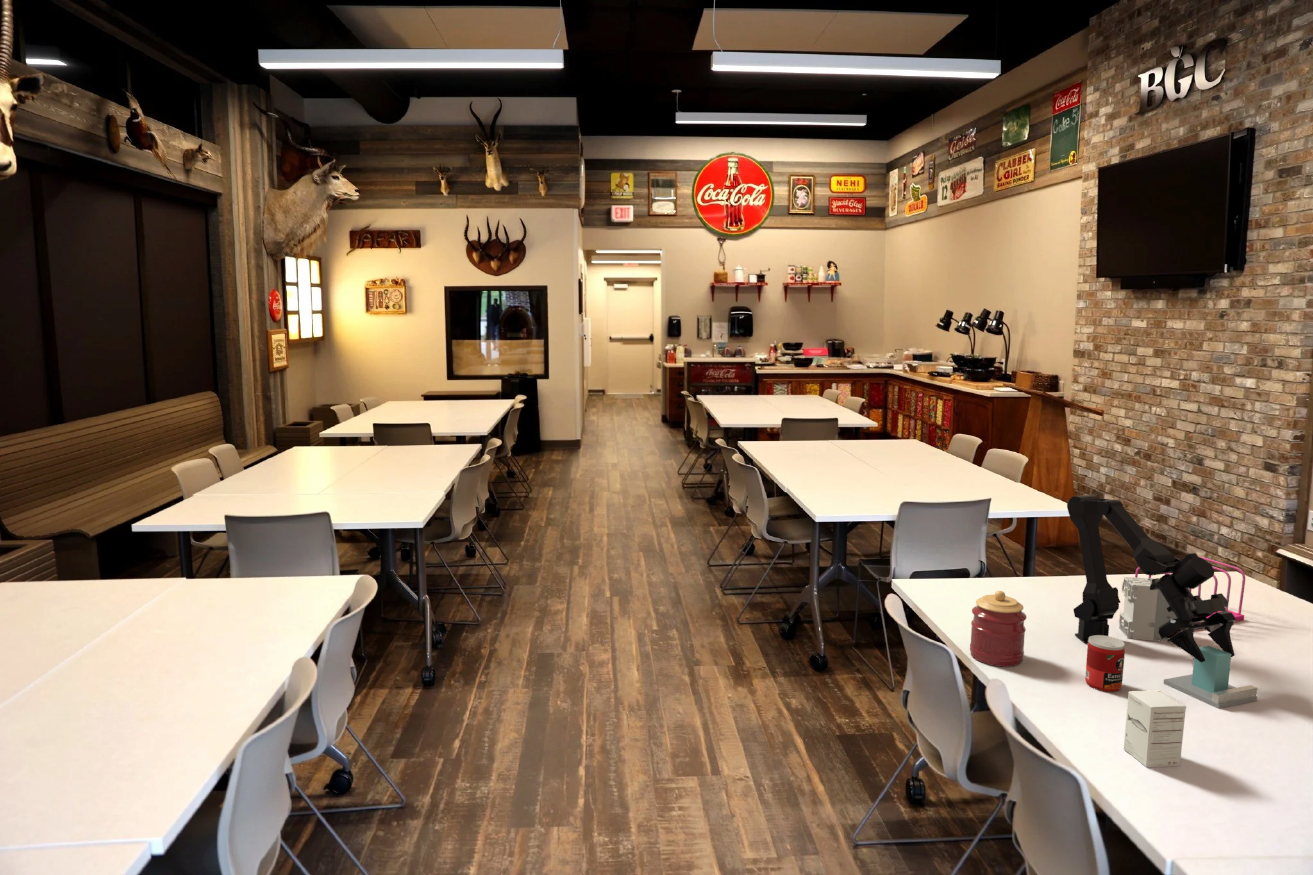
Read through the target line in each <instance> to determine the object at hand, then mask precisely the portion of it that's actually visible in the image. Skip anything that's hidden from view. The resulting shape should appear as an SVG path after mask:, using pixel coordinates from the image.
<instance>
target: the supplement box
mask: <svg viewBox="0 0 1313 875" xmlns="http://www.w3.org/2000/svg"><path fill="white" fill-rule="evenodd" d="M1127 696H1128V698H1127V708H1126V720H1125V729H1124V738H1123V739H1124V740H1123V750H1124V751H1126V752H1127V753H1129V754H1130V755H1131V756H1133V757H1134V758H1135V759H1136V760H1137V761H1138V762H1140V763H1141V764H1142V765H1143V766H1145V768H1162V767H1163V768H1166V767H1180V766H1181V760H1182V759H1181V758H1182V750H1183V749H1182V747H1183V740H1184V729H1185V718H1186V709H1187V706H1186V705H1185V704H1183V703H1181V702H1180V701H1179V700H1176V699H1175V698H1174V697H1172V696H1171V695H1169V694H1168V693H1166V692H1165V691H1163V690H1162V689H1153V690H1147V689H1146V690H1133V691H1132V690H1131V691H1128V695H1127Z"/></svg>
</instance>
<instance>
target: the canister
mask: <svg viewBox="0 0 1313 875" xmlns="http://www.w3.org/2000/svg"><path fill="white" fill-rule="evenodd" d="M975 604H976V605H975V606H974V607H972V609H971V613H972V614H973V619H972V620H971V622H970V623H971V630H970V634H971V635H970V643H969V651H970V656H971V657H972V658H973V659H974V660H976V661H978V662H981V663H983V664H986V665H991V666H994V667H995V666H996V667H1014V666H1015V667H1016V666H1019V665H1020V664H1022V663H1023V660H1024V657H1025V650H1024V648H1025V632H1026V631H1027V629H1026V627H1025V621H1026V620H1027V614H1026V613H1025V612H1024V611H1023V610H1024V605H1023V604H1022V603H1020V602H1019V601H1018V600H1017V599H1015V598H1013V597H1012V596H1011V597H1010V596H1007V595H1006V594H1005V592H1004V591H1002V590H997V591H996V592H995V593H994V594H986V595H984V596H983V595H982V597H979V598H977V599H976V600H975Z"/></svg>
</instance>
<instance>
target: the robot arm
mask: <svg viewBox="0 0 1313 875" xmlns="http://www.w3.org/2000/svg"><path fill="white" fill-rule="evenodd" d="M1066 508H1067V512H1068V516H1069V519H1070V521H1071V522H1072V524H1073V525H1074V526H1075V528H1077V531H1078V535H1079V541H1080V542H1079V543H1080V549H1081V556H1082V560H1083V565H1084V568H1083V569H1084V572H1085V579H1086V581H1085V582H1086V584H1085V586H1084V588H1083V591H1082V602H1081V603H1080V604H1079V605H1077V606H1076V607H1074V608H1073V613H1074V617H1075V618H1076V619H1078V628H1077V629H1078V630H1077V633H1074V636H1075V637H1076V638H1078V639H1079V640H1080V641H1081V642H1083V643H1084V644H1087V645H1088V639H1089V637H1090V636H1094V635H1103V636H1110V635H1109V633H1110V632H1109V631H1110V625H1109V622H1108V621H1109V620H1112V619H1113V618H1114V617H1115V614H1116V613H1117V611H1118V610H1119V608H1120V603H1122V602H1121V600H1120V597H1119V590H1118V587H1116V586H1115V587H1113V586H1112V585H1111V584H1110V583H1109V581H1108V577H1107V572H1106V565H1105V558H1104V554H1103V552H1104V551H1103V548H1102V547H1103V546H1102V540H1101V535H1100V534H1101V533H1100V525H1101V521H1102V519H1103V516H1104V517H1105V518H1106V520H1108V522H1109V523H1110V525H1112V527H1113V528H1114V529H1115V531H1117V532H1118V534H1119V535H1120V537H1121V538H1122V539H1123V540H1124V541H1125V542H1126V543H1127V544H1128V546H1129V548H1131V550H1132V551H1133V558H1134V561H1135V563H1136V564H1137V567H1139V568H1140V569H1139V570H1140V571H1141V572H1142V573H1143V574H1145V575H1146V576H1149V575H1151V577H1152V576H1158V575H1162V576H1161V577H1160V578H1159V577H1156V578H1152V583H1151V585H1150V590H1157V589H1159V590H1160V592H1161V593H1162V595H1163V596H1164V598H1165V600H1166V601H1167V603H1168V605H1169V607H1168V608H1166V609H1167V610H1168V612H1173V613H1174V614H1175V616H1176V617H1177V619H1171V620H1170V621H1168V622H1166V623H1165V624H1163V625H1162V626H1160V627H1159V630H1158V633H1159V635H1160V636H1161V638H1160V639H1161V640H1162V641H1163V640H1164V641H1165V640H1166V641H1167V642H1168V643H1172V644H1173V645H1175V646H1176V647H1178V648H1180V650H1183V651H1184V652H1185V653H1187V654H1189V655H1190V656H1191V657H1193V659H1194V658H1195V659H1197V660H1198V661H1200V662H1204V661H1205V658H1204V656H1203V654H1202V652H1201V650H1200V648H1199V647H1200V646H1199V645H1198V643H1197V642H1196V639H1195V638H1194V634H1195V633H1194V631H1195V630H1198V629H1199V628H1200V629H1204V630H1205V631H1207V632H1209V633H1207V635H1208V637H1210V638H1211V639H1212V641H1213V642H1214V643H1215V644H1216V645H1217V646H1218V647H1219V648H1220V650H1222V651H1225V652H1227V653H1230V654H1231V658H1233V657H1235V651H1234V646H1233V643H1232V638H1231V628H1232V627H1233V626H1234V625H1235V623H1236V622H1235V621H1236V618H1235V617H1234V615H1233V614H1232V613H1231V612H1228V611H1226V609H1225V607H1227V606H1228V607H1229V604H1228V601H1227V600H1226V598H1227V597H1225V595H1224V594H1223V593H1222V592H1221V593H1217V594H1214V593H1213V594H1211V595H1210V598H1208V599H1202V597H1201V596H1200V597H1199V596H1198V594H1197V595H1194V594H1193V593H1192V590H1194V589H1196V588H1198V586H1199V585H1201V586H1202V584H1204V583H1205V582H1207V581H1208V580H1210V579H1212V578H1213V576H1214V575H1215V569H1213V567H1214V566H1213V565H1212V563H1210V562H1209V561H1208V560H1204V559H1203V558H1200V557H1201V556H1199V555H1198V553H1196V552H1191V553H1188V554H1187V555H1185V556H1184V558H1182V559H1180V558H1177V557H1176V556H1175V555H1174V554H1173V553H1172V552H1171V551H1169V549H1168V548H1166V547H1165V546H1164V545H1162V544H1161V543H1159V542H1156V541H1154V539H1152V538H1150V537H1149V535H1148V534H1147V533H1146V532H1145V530H1144V529H1142V527H1141V526H1140V525H1139V523H1138V522H1137V521H1136V520H1135V519H1134V518H1133V516H1131V514H1130V513H1129V512H1128V511H1127V510H1126V508H1125V507H1124V504H1123V502H1122V501H1121V500H1119V499H1115V498H1114V499H1110V498H1099V497H1098V496H1097V495H1095V494H1084V495H1083V494H1082V495H1073V496H1071V498H1069V500H1068V501H1067V503H1066ZM1212 566H1213V567H1212ZM1167 573H1171V575H1170V574H1167ZM1165 574H1166V575H1165ZM1189 589H1191V591H1190V590H1189ZM1218 611H1223V612H1218ZM1213 613H1215V614H1213ZM1212 614H1213V615H1212ZM1210 615H1211V616H1210ZM1208 616H1210V617H1208ZM1206 617H1208V618H1206Z"/></svg>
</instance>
